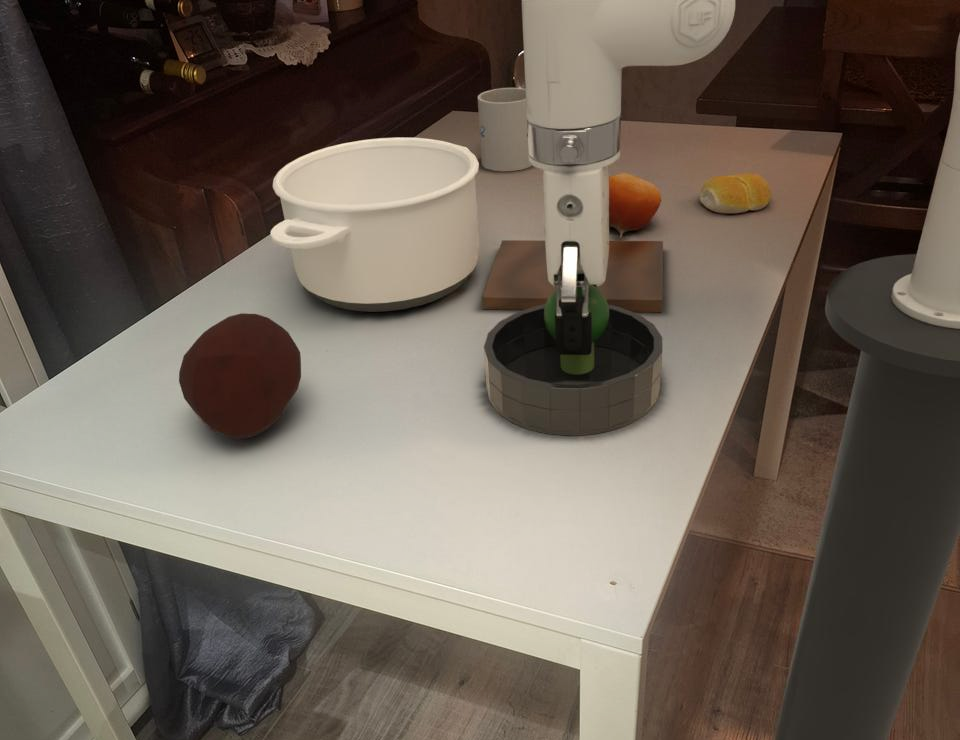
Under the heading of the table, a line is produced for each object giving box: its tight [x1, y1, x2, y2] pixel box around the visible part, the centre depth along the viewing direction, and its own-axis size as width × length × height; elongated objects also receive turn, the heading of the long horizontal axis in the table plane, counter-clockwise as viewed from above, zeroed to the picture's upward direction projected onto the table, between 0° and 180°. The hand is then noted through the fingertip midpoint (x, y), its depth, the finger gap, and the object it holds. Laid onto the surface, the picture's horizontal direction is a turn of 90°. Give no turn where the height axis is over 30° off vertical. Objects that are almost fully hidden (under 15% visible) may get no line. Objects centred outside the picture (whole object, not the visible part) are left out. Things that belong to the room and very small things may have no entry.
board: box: [481, 239, 664, 313], centre depth 105 cm, size 20×16×2 cm
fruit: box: [609, 172, 662, 239], centre depth 115 cm, size 8×8×8 cm
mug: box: [477, 87, 533, 172], centre depth 139 cm, size 12×9×10 cm
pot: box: [269, 137, 480, 313], centre depth 105 cm, size 33×23×14 cm
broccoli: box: [544, 284, 609, 374], centre depth 83 cm, size 6×6×8 cm
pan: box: [483, 304, 663, 437], centre depth 85 cm, size 17×17×5 cm
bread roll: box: [699, 172, 772, 214], centre depth 120 cm, size 8×9×4 cm
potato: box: [178, 312, 302, 440], centre depth 83 cm, size 11×13×10 cm
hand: (576, 333), depth 83 cm, fingers closed on broccoli, 5 cm apart
